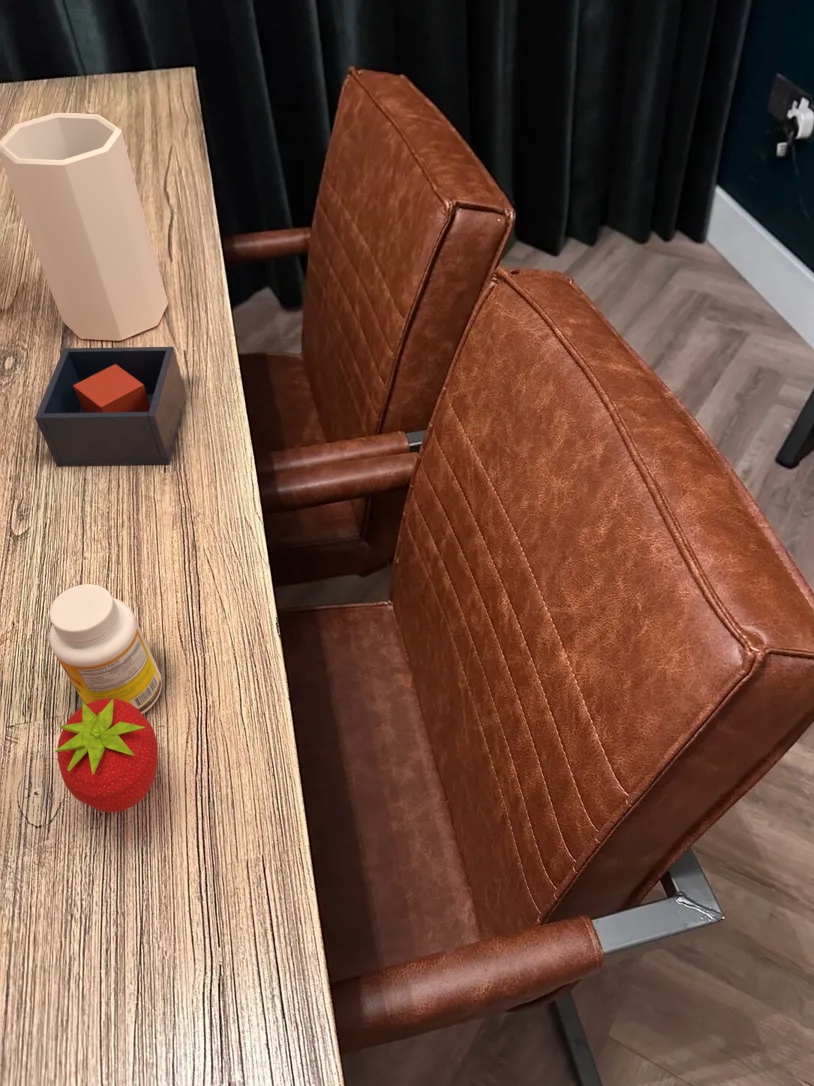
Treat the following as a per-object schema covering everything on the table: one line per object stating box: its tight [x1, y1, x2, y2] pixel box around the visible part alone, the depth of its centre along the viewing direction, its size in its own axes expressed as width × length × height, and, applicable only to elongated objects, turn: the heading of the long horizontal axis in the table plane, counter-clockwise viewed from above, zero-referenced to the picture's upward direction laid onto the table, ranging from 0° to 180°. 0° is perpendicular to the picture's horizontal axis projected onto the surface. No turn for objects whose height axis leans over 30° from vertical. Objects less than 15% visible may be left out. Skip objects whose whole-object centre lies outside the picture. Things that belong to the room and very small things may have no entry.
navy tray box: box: [34, 346, 187, 467], centre depth 80 cm, size 10×10×6 cm
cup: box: [0, 112, 169, 342], centre depth 88 cm, size 11×11×18 cm
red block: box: [73, 364, 150, 413], centre depth 80 cm, size 4×4×4 cm
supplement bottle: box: [48, 583, 163, 715], centre depth 60 cm, size 6×6×10 cm
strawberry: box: [54, 698, 159, 813], centre depth 55 cm, size 6×8×10 cm
